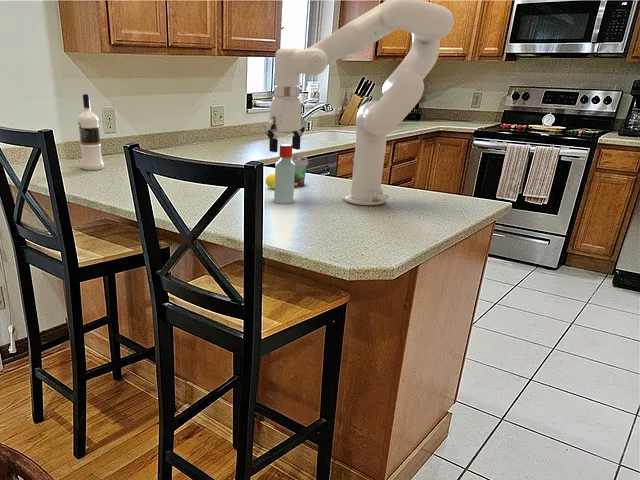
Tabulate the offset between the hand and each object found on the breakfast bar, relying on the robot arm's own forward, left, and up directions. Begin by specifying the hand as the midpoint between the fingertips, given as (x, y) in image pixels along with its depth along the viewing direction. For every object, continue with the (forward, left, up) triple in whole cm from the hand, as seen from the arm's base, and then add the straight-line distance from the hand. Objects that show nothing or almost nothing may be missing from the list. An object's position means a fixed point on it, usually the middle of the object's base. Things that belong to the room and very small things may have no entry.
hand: (284, 150), depth 168 cm
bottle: (0, 0, -17) cm, 17 cm away
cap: (0, 0, -2) cm, 2 cm away
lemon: (+17, -11, -17) cm, 26 cm away
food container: (+16, -23, -17) cm, 33 cm away
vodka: (+92, +27, -17) cm, 98 cm away
